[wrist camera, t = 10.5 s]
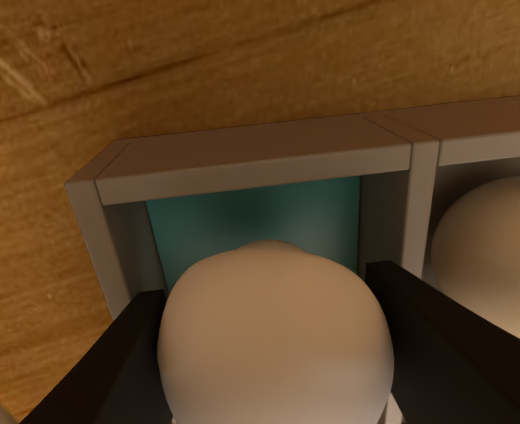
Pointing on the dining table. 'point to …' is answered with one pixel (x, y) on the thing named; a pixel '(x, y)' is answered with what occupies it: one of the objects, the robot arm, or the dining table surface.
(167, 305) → the white hen egg
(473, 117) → the carton
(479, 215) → the egg
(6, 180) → the dining table surface
